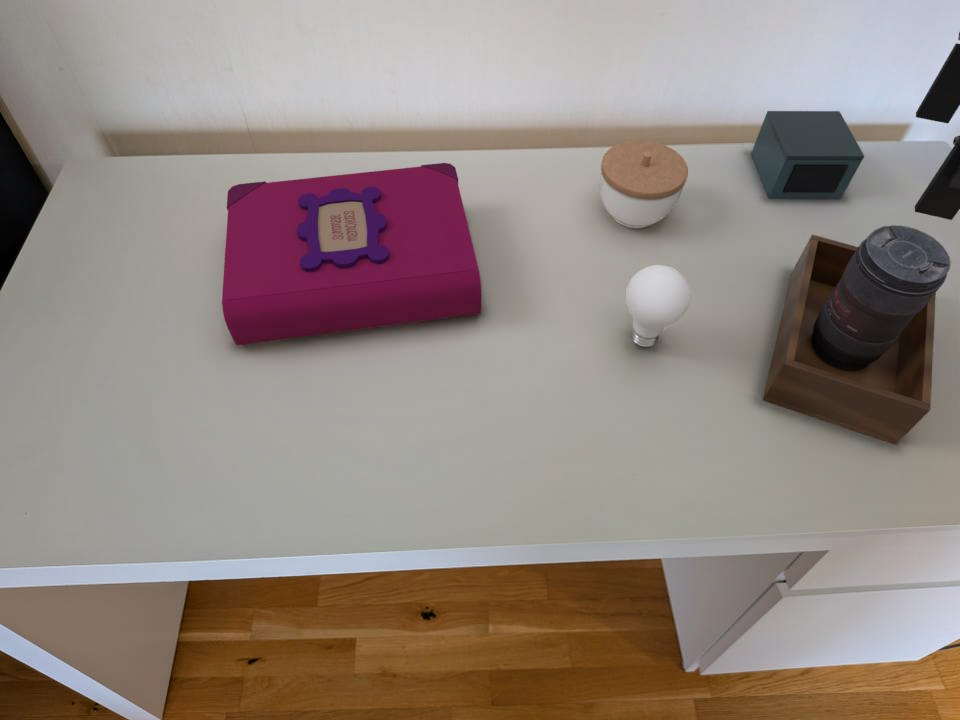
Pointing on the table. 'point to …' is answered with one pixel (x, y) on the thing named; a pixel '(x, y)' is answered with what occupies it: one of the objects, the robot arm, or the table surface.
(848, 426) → the wooden box
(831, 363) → the camera lens
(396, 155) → the table surface
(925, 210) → the robot arm
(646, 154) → the trinket box
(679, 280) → the light bulb
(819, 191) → the cabinet block
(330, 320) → the book
